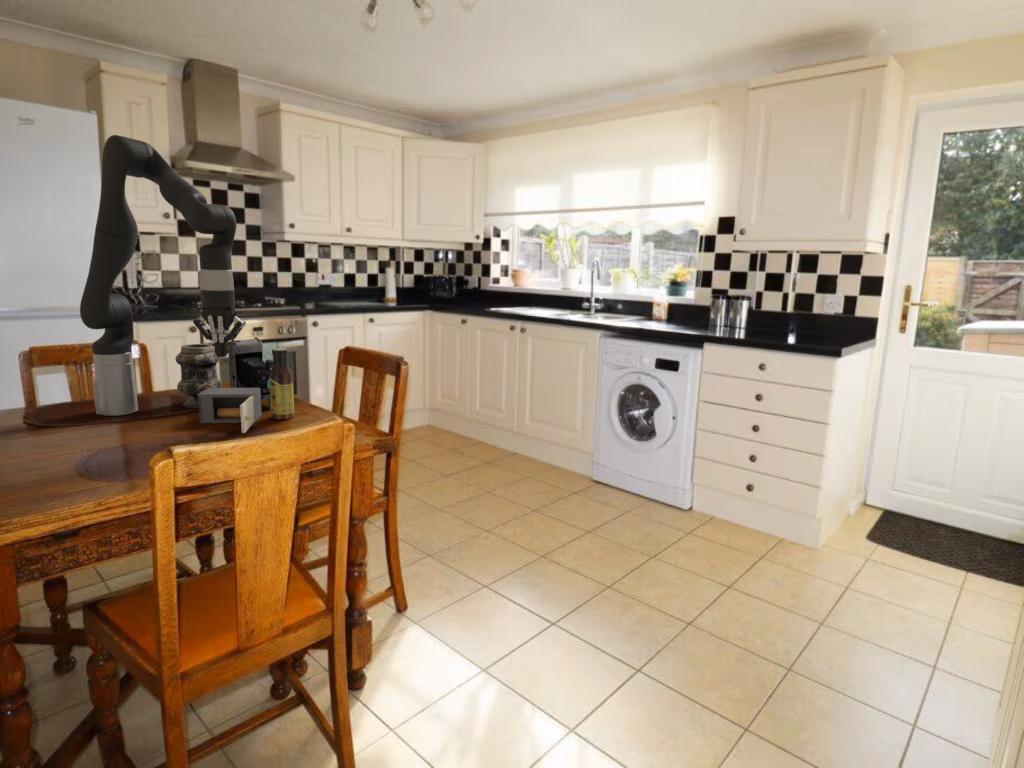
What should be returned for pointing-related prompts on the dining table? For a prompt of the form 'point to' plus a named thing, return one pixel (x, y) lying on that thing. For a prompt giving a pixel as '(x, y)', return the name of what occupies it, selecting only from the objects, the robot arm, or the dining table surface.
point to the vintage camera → (249, 366)
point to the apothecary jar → (197, 371)
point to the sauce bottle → (281, 386)
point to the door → (247, 414)
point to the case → (226, 404)
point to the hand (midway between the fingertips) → (221, 356)
